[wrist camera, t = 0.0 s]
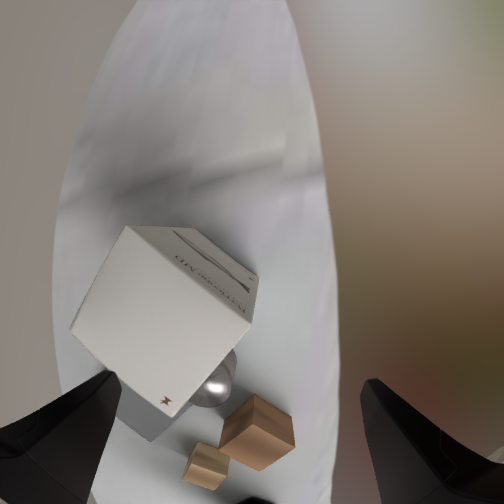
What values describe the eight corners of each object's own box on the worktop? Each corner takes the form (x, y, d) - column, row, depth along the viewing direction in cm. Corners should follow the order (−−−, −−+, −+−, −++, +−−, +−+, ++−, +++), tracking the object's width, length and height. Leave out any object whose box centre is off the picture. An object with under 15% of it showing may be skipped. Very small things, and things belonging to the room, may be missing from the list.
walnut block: (260, 440, 25) (259, 471, 20) (224, 419, 25) (218, 450, 20) (291, 416, 25) (295, 447, 20) (254, 393, 25) (252, 423, 20)
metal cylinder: (218, 386, 25) (209, 415, 20) (182, 359, 25) (166, 385, 20) (246, 358, 24) (242, 385, 19) (209, 329, 24) (196, 351, 19)
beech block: (218, 468, 26) (214, 490, 22) (188, 457, 26) (181, 479, 22) (230, 452, 25) (226, 475, 21) (199, 441, 26) (191, 463, 22)
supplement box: (262, 277, 24) (259, 328, 11) (212, 339, 24) (170, 424, 12) (195, 224, 24) (125, 219, 11) (149, 289, 24) (64, 333, 12)
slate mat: (152, 438, 26) (150, 442, 25) (94, 391, 26) (91, 394, 25) (196, 397, 25) (194, 401, 24) (127, 342, 25) (124, 345, 24)
